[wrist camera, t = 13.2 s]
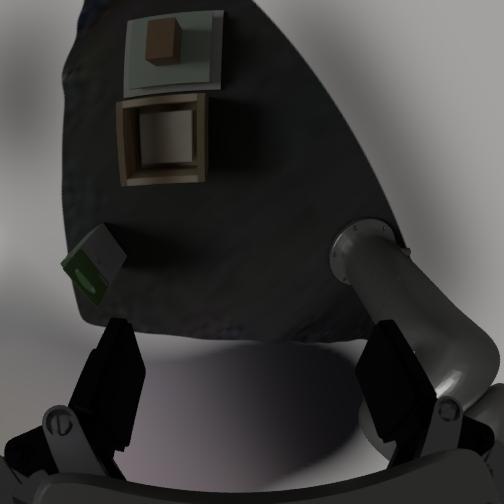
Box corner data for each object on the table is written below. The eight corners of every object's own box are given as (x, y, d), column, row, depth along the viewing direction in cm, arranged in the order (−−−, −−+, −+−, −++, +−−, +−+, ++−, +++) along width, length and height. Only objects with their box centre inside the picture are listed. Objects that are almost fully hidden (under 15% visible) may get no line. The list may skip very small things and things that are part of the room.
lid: (213, 16, 25) (210, -4, 18) (210, 83, 30) (206, 76, 23) (137, 24, 24) (119, 8, 18) (133, 90, 29) (113, 86, 22)
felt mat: (223, 11, 25) (223, 10, 24) (220, 89, 31) (220, 89, 30) (128, 22, 24) (127, 21, 23) (125, 98, 29) (123, 97, 29)
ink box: (87, 232, 38) (47, 279, 26) (103, 221, 38) (63, 266, 26) (111, 265, 41) (81, 319, 30) (128, 256, 41) (99, 310, 29)
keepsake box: (208, 97, 31) (204, 93, 25) (208, 169, 36) (204, 181, 30) (135, 103, 30) (116, 102, 24) (138, 173, 35) (121, 186, 29)
